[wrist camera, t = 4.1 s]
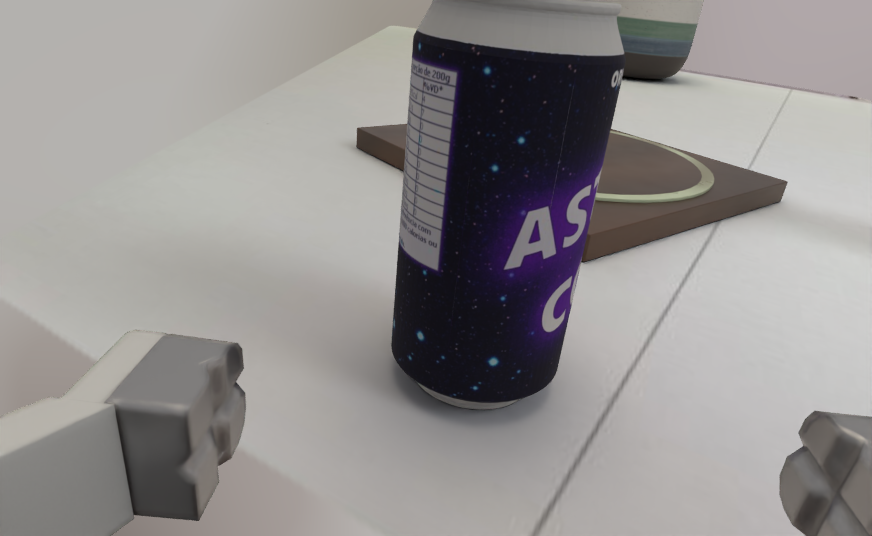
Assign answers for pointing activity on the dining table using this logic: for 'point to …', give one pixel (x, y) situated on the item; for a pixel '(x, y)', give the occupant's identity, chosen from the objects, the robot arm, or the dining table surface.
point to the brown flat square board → (637, 188)
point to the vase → (656, 35)
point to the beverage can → (499, 189)
